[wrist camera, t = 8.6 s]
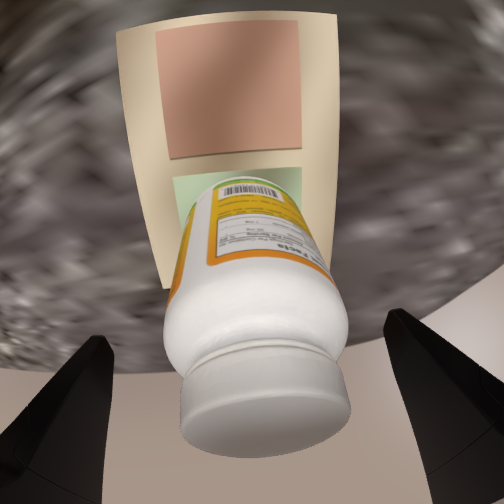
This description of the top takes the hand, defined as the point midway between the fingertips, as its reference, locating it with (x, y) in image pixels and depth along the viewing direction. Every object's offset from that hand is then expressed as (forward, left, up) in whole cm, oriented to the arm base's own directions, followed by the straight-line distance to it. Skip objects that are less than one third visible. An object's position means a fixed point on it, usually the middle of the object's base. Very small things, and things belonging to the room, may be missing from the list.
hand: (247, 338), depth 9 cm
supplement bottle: (0, 0, -7) cm, 7 cm away
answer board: (0, -3, -7) cm, 8 cm away
